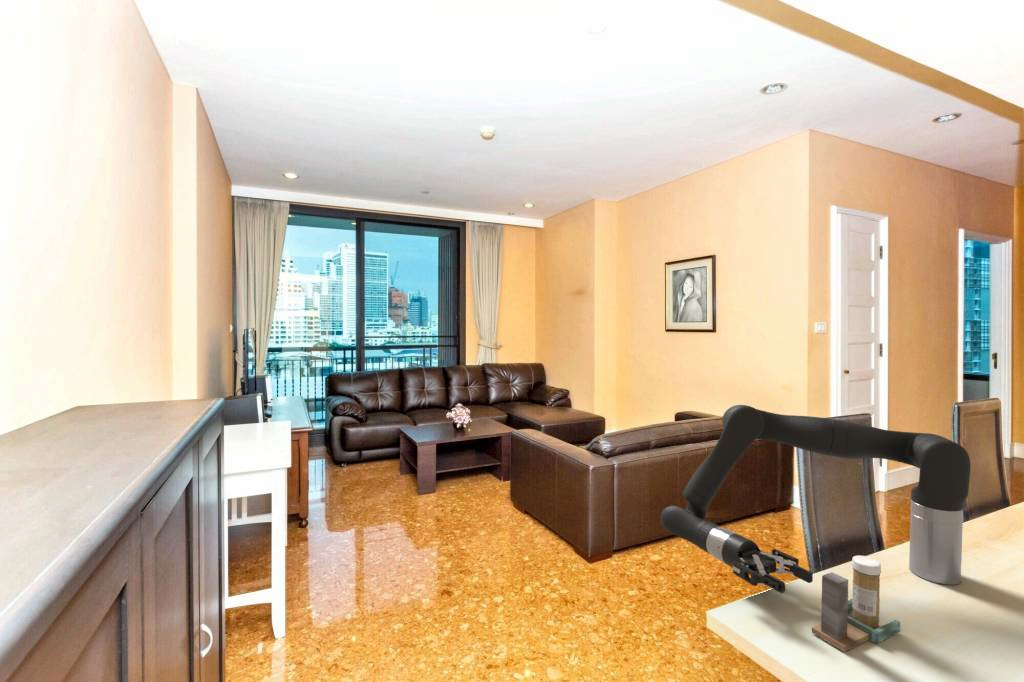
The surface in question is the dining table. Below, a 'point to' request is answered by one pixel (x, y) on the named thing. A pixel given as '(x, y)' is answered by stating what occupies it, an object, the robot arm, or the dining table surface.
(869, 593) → the sprinkles bottle
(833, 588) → the stand
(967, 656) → the dining table surface
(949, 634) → the dining table surface
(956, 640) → the dining table surface
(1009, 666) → the dining table surface
